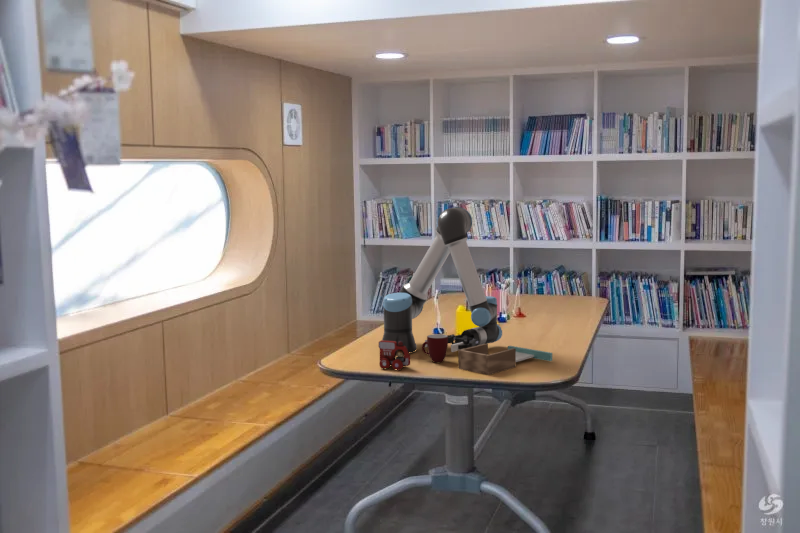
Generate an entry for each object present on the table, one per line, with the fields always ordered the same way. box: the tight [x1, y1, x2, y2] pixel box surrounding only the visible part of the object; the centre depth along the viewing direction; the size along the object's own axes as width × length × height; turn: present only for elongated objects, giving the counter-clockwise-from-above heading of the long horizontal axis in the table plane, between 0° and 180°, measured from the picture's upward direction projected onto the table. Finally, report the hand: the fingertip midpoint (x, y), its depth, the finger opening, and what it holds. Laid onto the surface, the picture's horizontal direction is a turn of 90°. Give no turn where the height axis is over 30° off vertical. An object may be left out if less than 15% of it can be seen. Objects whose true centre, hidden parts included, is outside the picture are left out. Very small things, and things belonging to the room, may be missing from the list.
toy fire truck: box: [378, 339, 411, 371], centre depth 300 cm, size 7×12×10 cm, turn 68°
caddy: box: [457, 343, 517, 376], centre depth 298 cm, size 14×16×7 cm
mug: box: [421, 333, 449, 363], centre depth 309 cm, size 10×8×10 cm
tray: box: [507, 345, 553, 363], centre depth 307 cm, size 20×16×3 cm
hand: (438, 346), depth 310 cm, fingers open, 13 cm apart
